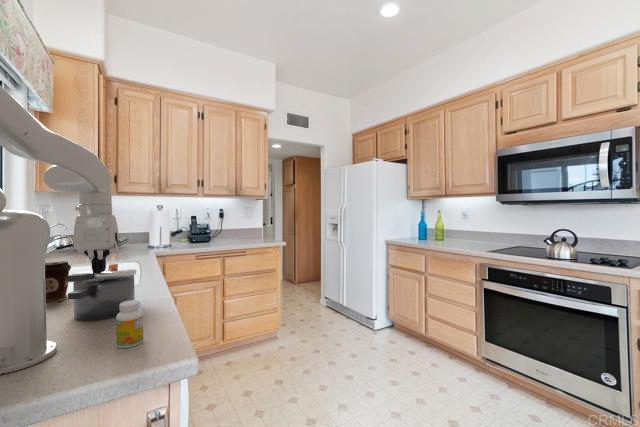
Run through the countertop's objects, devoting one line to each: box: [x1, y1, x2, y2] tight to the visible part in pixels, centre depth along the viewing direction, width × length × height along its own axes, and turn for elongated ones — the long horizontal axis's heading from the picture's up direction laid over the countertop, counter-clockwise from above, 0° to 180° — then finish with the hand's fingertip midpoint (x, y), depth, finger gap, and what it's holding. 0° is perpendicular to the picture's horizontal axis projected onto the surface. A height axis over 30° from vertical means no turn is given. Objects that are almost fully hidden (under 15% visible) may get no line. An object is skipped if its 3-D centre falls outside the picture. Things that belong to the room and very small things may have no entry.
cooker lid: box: [67, 263, 137, 283], centre depth 87 cm, size 22×16×3 cm
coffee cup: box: [45, 260, 72, 303], centre depth 100 cm, size 9×8×13 cm
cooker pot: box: [67, 275, 136, 322], centre depth 87 cm, size 23×15×10 cm, turn 7°
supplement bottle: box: [115, 299, 144, 349], centre depth 69 cm, size 5×5×10 cm
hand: (99, 272), depth 86 cm, fingers closed
